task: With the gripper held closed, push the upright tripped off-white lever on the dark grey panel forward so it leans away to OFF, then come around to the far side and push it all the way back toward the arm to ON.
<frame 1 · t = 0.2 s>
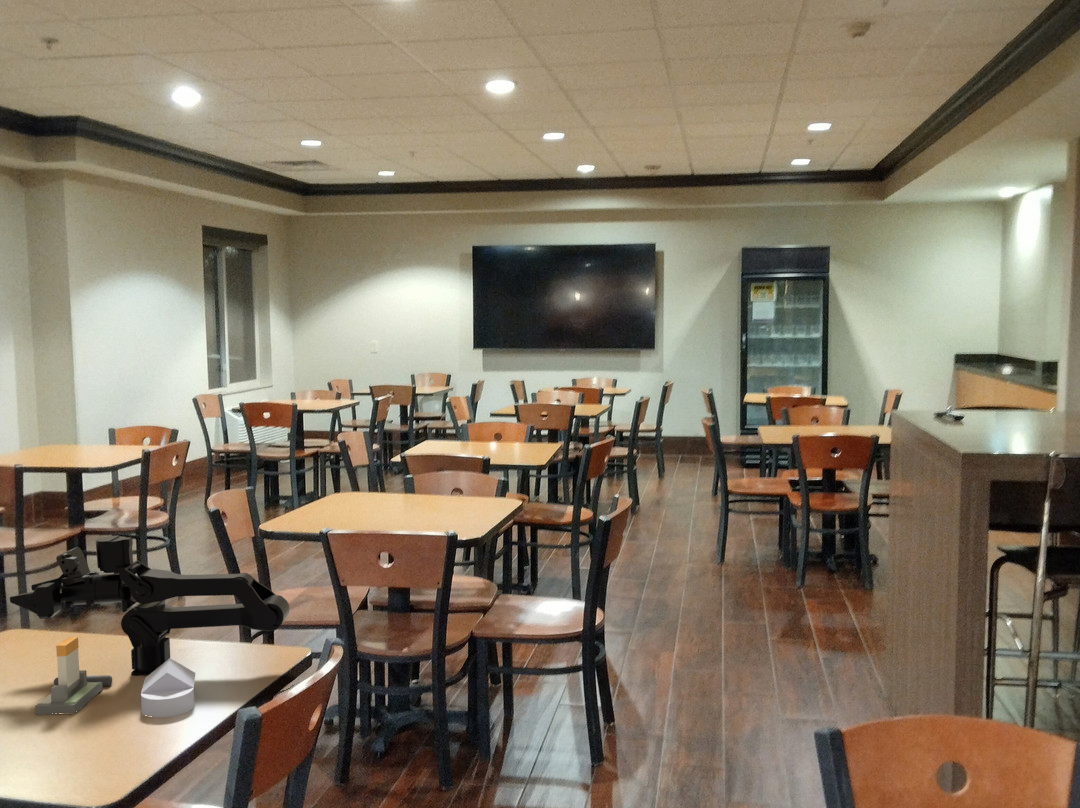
hand: (21, 593, 200), 16 cm above the table, tool horizontal, fingers open, 9 cm apart
grey double capsule: (87, 684, 195), on the table
panel: (70, 701, 186), on the table
wedge on round base: (168, 705, 184), on the table
lever: (68, 666, 185), point 7 cm above the table, hinge at 0.0°
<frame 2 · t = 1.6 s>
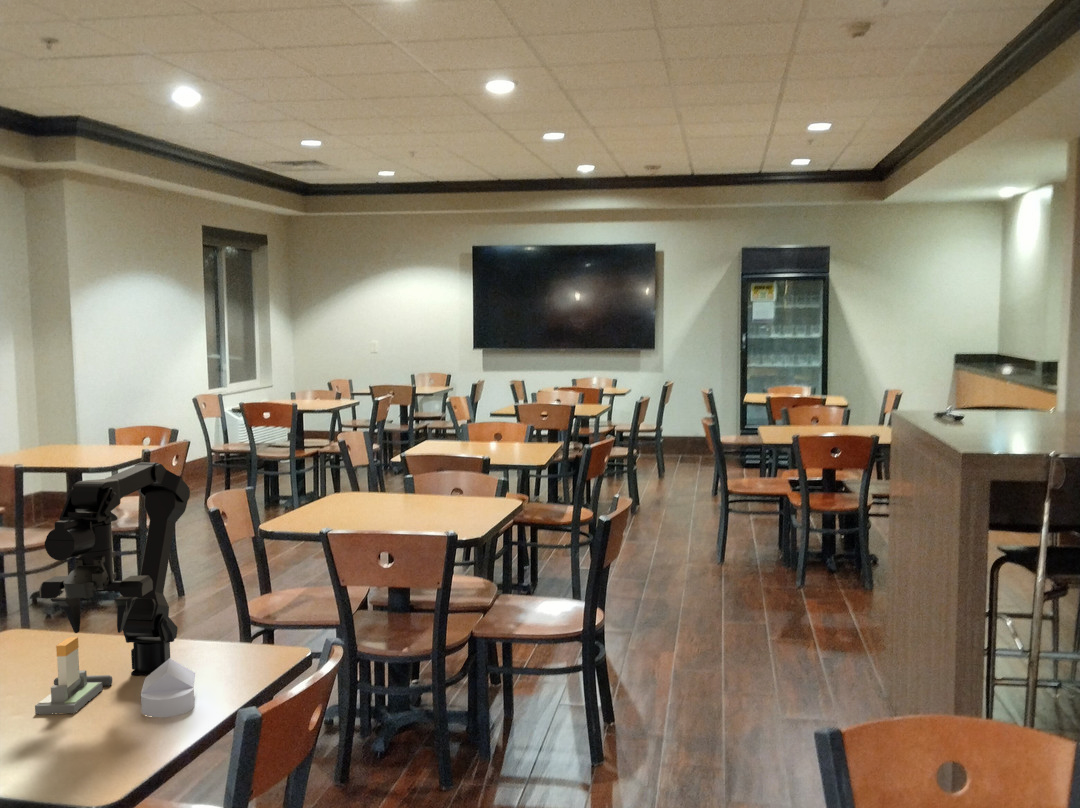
hand: (98, 632, 185), 13 cm above the table, tool pointing down, fingers open, 8 cm apart
nothing on the table moved.
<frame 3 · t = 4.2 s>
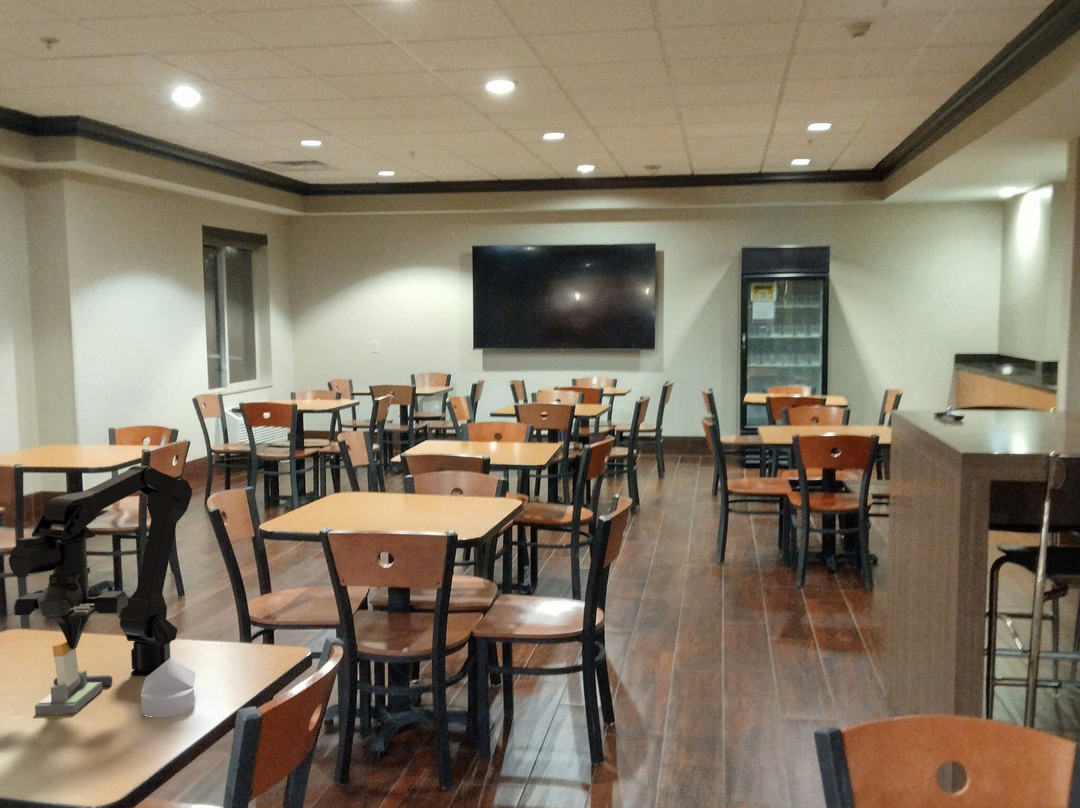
hand: (73, 648, 185), 10 cm above the table, tool pointing down, fingers closed
lever: (66, 666, 185), point 7 cm above the table, hinge at 4.8°, touching gripper
everything else where it was.
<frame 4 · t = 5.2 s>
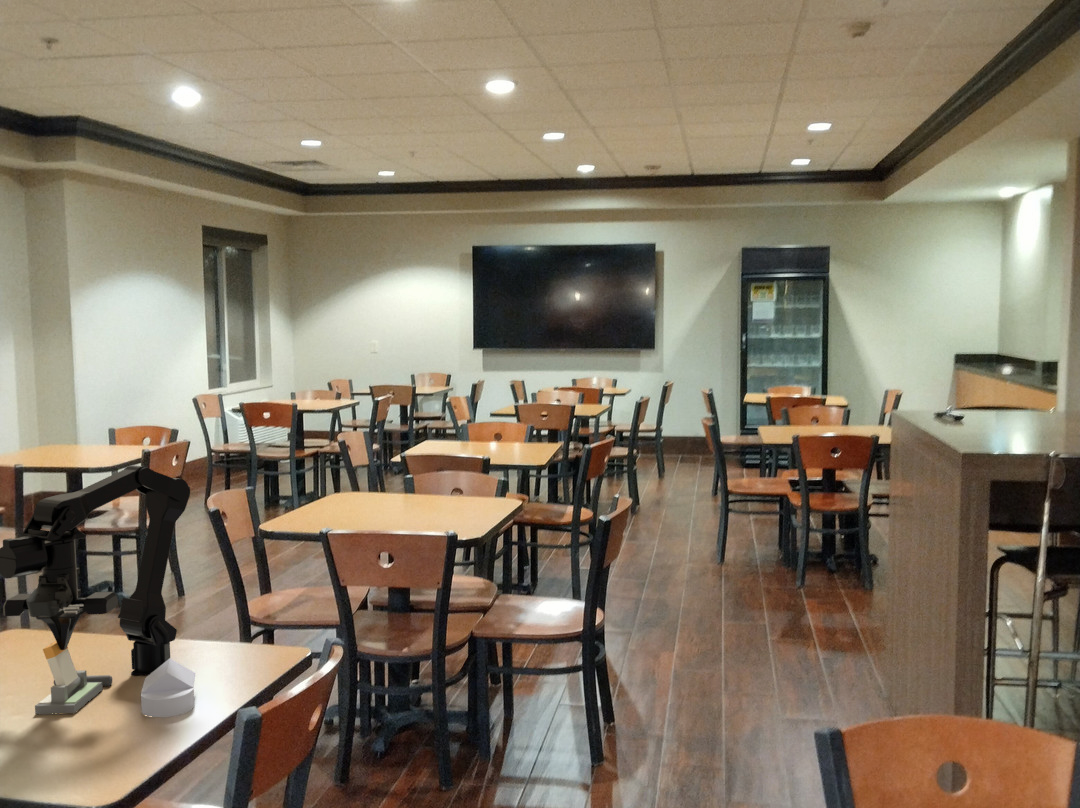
hand: (63, 649, 185), 10 cm above the table, tool pointing down, fingers closed
lever: (62, 667, 185), point 7 cm above the table, hinge at 17.3°, touching gripper
everything else where it was.
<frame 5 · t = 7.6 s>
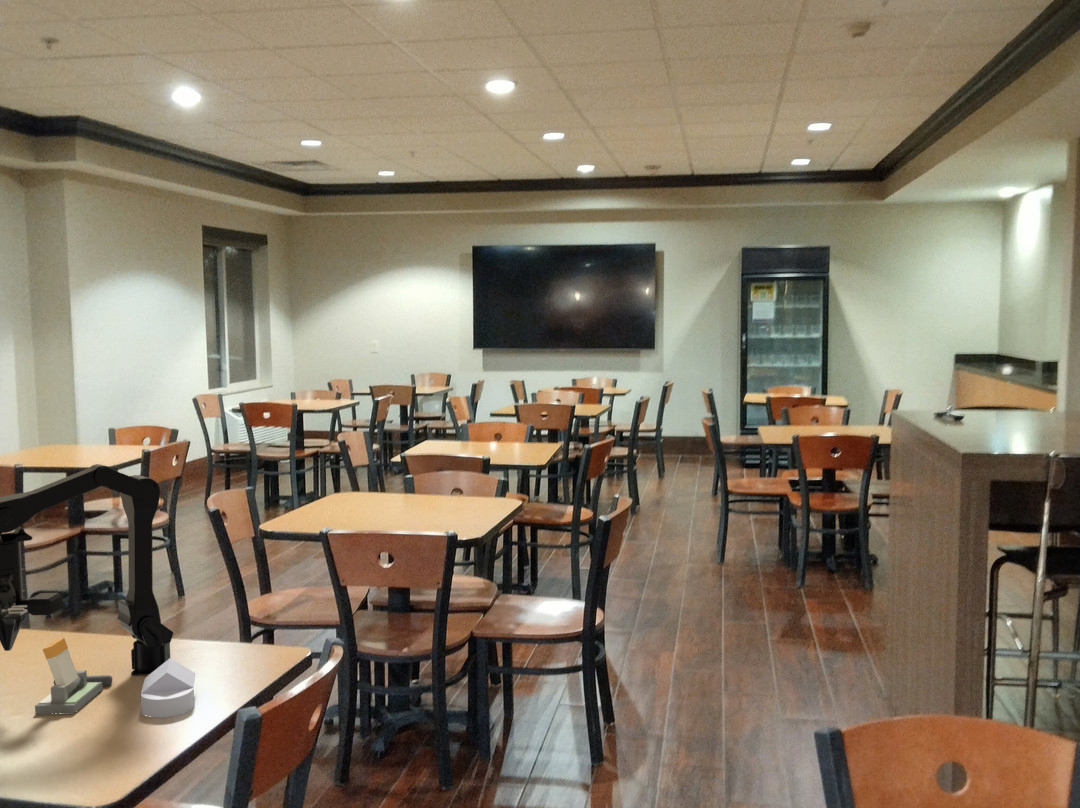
hand: (8, 650, 185), 10 cm above the table, tool pointing down, fingers closed
lever: (62, 667, 185), point 7 cm above the table, hinge at 17.5°
everything else where it was.
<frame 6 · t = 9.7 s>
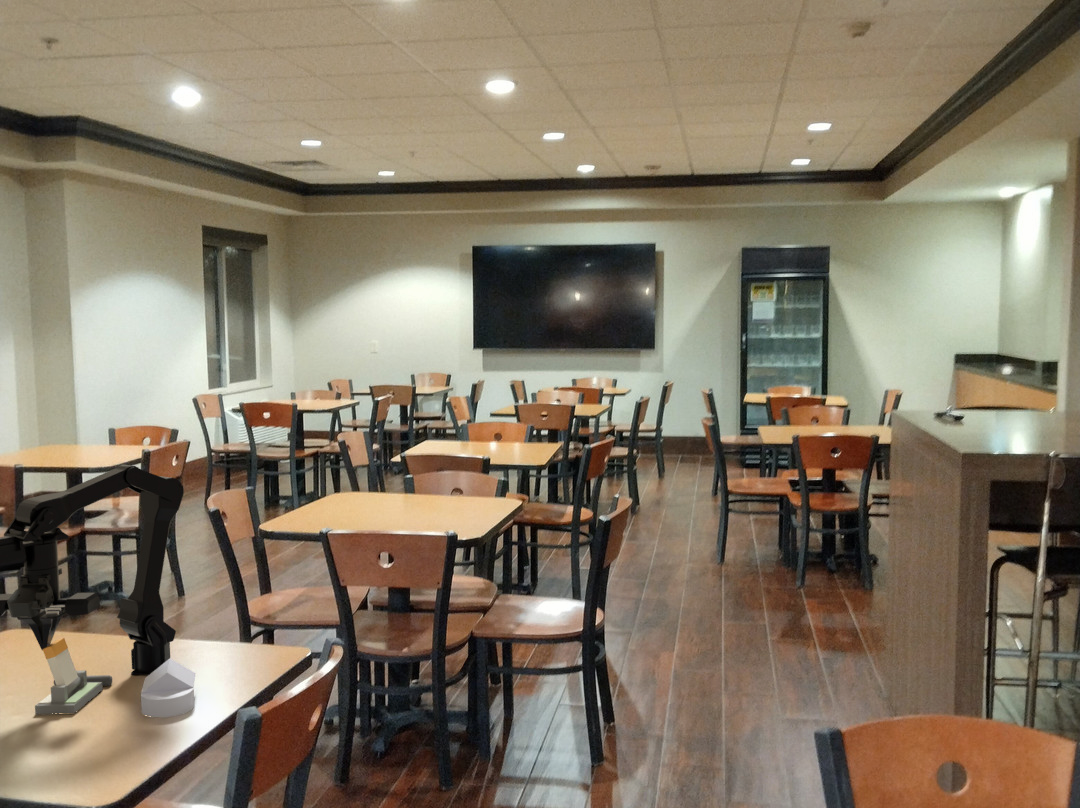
hand: (45, 649, 185), 10 cm above the table, tool pointing down, fingers closed
lever: (62, 667, 185), point 7 cm above the table, hinge at 17.4°, touching gripper
everything else where it was.
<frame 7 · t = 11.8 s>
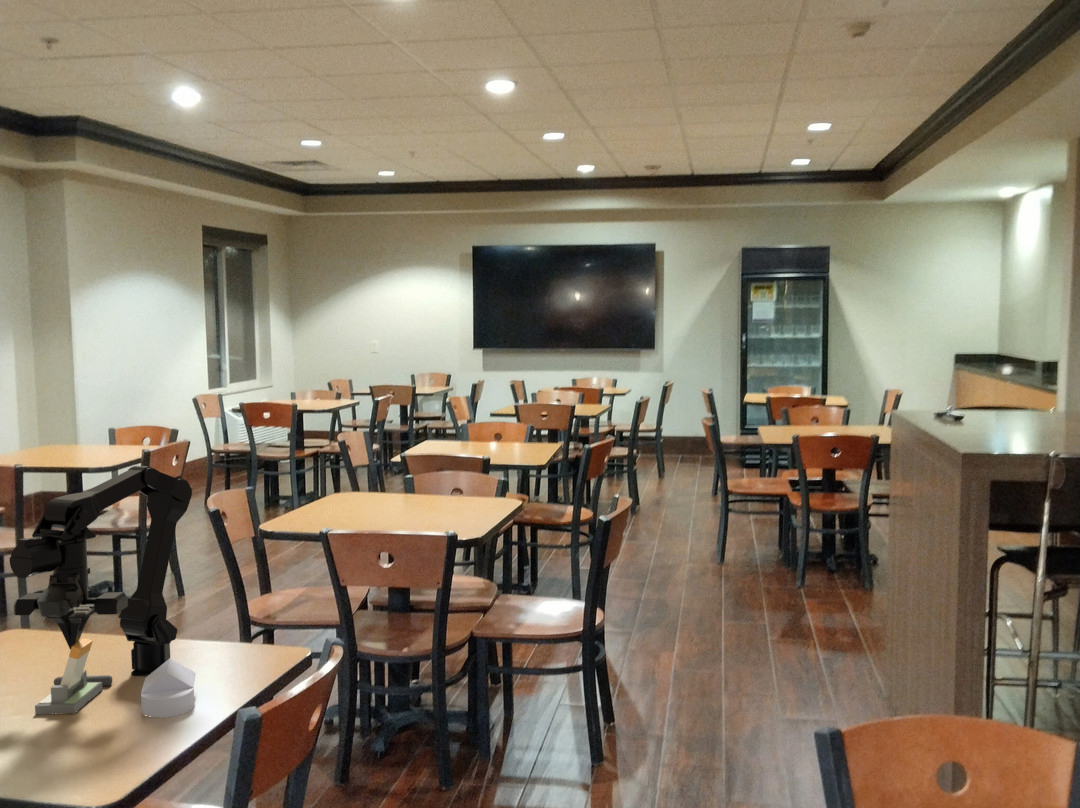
hand: (73, 649, 185), 10 cm above the table, tool pointing down, fingers closed
lever: (75, 667, 185), point 7 cm above the table, hinge at -19.0°, touching gripper
everything else where it was.
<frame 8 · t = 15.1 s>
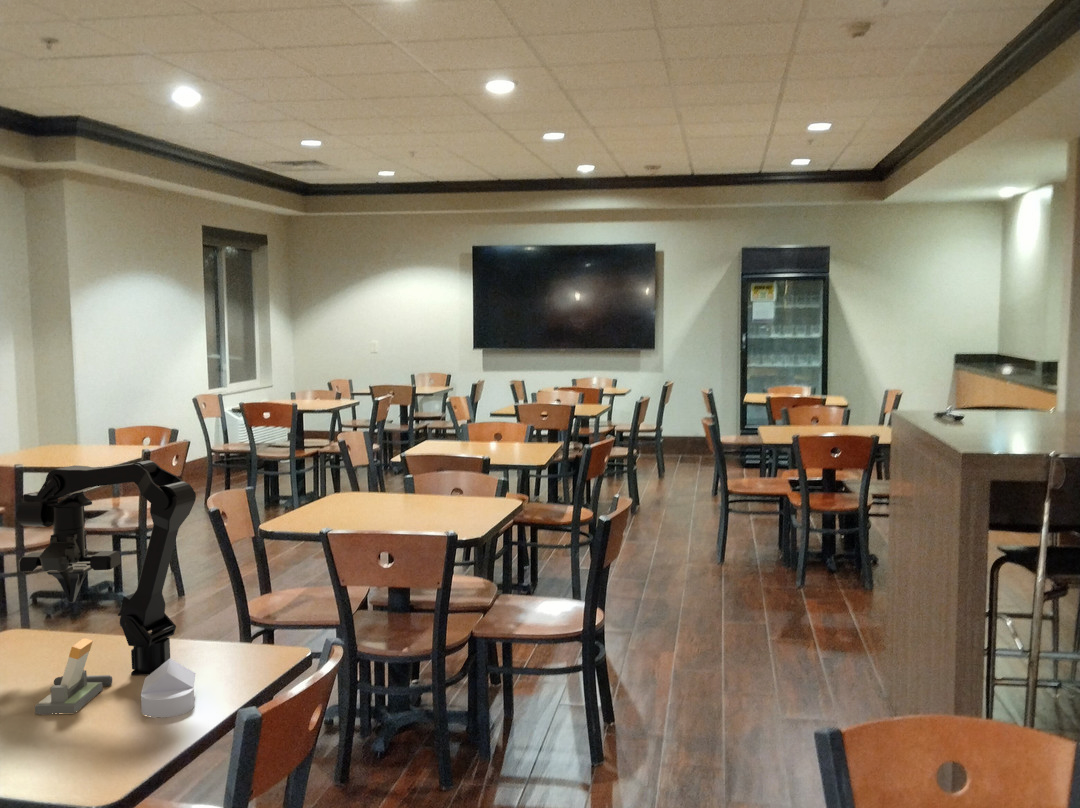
hand: (72, 602, 207), 13 cm above the table, tool pointing down, fingers closed
lever: (75, 667, 185), point 7 cm above the table, hinge at -19.1°
everything else where it was.
at the end: lever at -19° (first picture: +0°) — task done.
